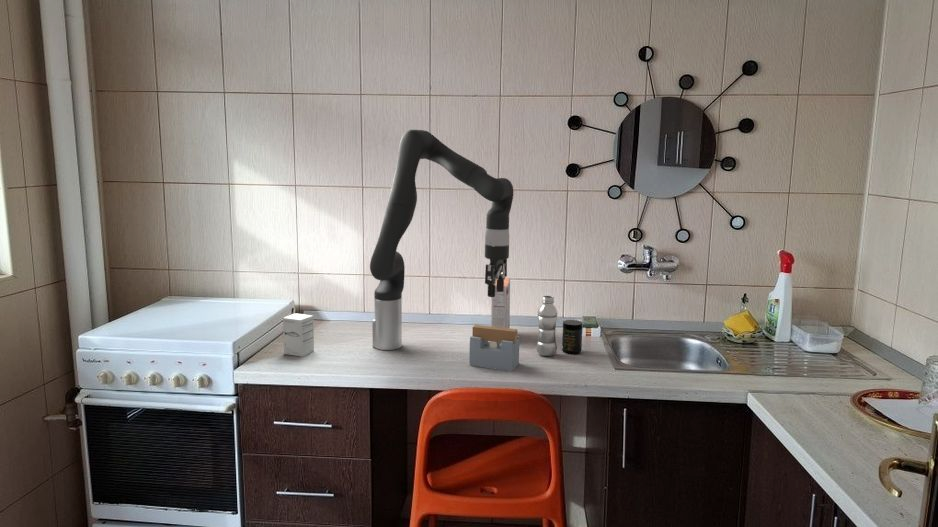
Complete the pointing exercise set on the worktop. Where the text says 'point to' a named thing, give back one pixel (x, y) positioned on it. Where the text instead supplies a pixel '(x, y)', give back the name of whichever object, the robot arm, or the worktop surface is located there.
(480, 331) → the frame bar
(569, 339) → the supplement container
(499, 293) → the cracker box
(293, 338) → the supplement box
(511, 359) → the notched gray block
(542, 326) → the plastic bottle
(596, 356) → the worktop surface
